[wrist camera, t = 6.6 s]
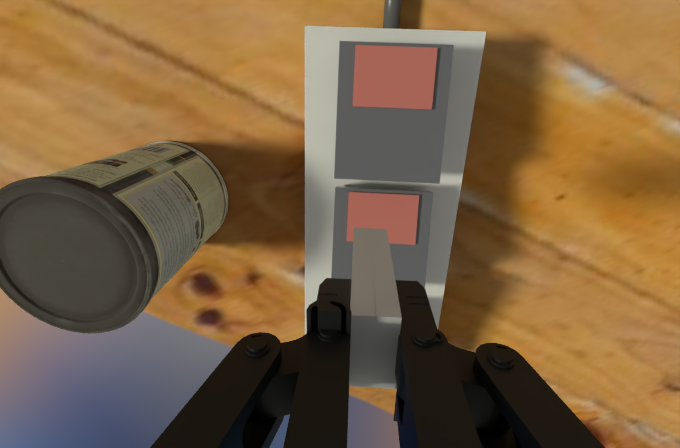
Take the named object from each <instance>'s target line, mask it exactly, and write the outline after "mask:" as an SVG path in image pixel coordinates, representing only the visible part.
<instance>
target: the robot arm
mask: <svg viewBox="0 0 680 448" xmlns="http://www.w3.org/2000/svg"><path fill="white" fill-rule="evenodd" d="M306 315H307V334H305V335H304V336H303V337H301V338H299V339H297V340H293V341H289V342H284V343H280V340H279V339H278V338H277V337H276V336H274V335H272V334H269V333H261V332H260V333H254V334H250V335H248V336H246V337H243V338H242V339H241V340H240V341H239V342H237V344H236V345H235V346H234V347H233V348H232V350H231V351H230V352H229V353H228V355H227V356H226V357H225V358H224V359H223V360H222V362H221V363H220V364H219V365H218V367H217V368H216V369H215V370H214V371H213V373H212V374H211V375H210V376H209V377H208V379H207V380H206V381H205V382H204V384H203V385H202V386H201V387H200V388H199V390H198V391H197V392H196V393H195V394H194V396H193V397H192V398H191V399H190V400H189V402H188V403H187V404H186V405H185V406H184V408H183V409H182V410H181V411H180V412H179V414H178V415H177V416H176V417H175V419H174V420H173V421H172V422H171V423H170V424H169V426H168V427H167V428H166V429H165V431H164V432H163V433H162V434H161V435H160V437H159V438H158V439H157V440H156V442H155V443H154V444H153V445H152V446H151V448H269V447H270V445H271V442H272V441H273V439H274V437H275V434H276V433H277V431H278V429H279V427H280V425H281V423H282V421H283V418H284V415H288V414H290V418H289V423H288V428H287V433H286V437H285V442H284V448H347V428H348V398H349V386H356V387H373V388H391V389H395V380H396V387H397V393H396V403H395V412H394V421H397V422H398V432H399V442H400V448H605V447H604V446H603V445H602V444H601V443H600V442H599V441H598V440H597V439H596V437H595V436H594V435H593V434H592V433H591V432H590V431H589V430H588V429H587V427H586V426H585V425H584V424H583V423H582V422H581V421H580V420H579V419H578V417H577V416H576V415H575V414H574V413H573V412H572V411H571V410H570V409H569V408H568V406H567V405H566V404H565V403H564V402H563V401H562V400H561V399H560V398H559V396H558V395H557V394H556V393H555V392H554V391H553V390H552V389H551V388H550V386H549V385H548V384H547V383H546V382H545V381H544V380H543V379H542V378H541V377H540V375H539V374H538V373H537V372H536V371H535V370H534V369H533V368H532V367H531V365H530V364H529V363H528V362H527V361H526V360H525V359H524V358H523V357H522V356H521V355H520V354H519V353H518V352H517V351H515V350H514V349H512V348H510V347H508V346H505V345H502V344H498V343H486V344H482V345H480V346H479V347H478V348H477V349H476V353H475V352H471V351H467V350H464V349H461V348H458V347H455V346H453V345H451V344H449V343H448V341H447V339H446V337H445V335H444V334H443V333H442V332H440V331H439V330H438V329H437V326H436V323H435V320H434V316H433V313H432V310H431V307H430V303H429V300H428V297H427V293H426V290H425V288H424V287H423V286H422V285H421V284H420V283H419V282H418V281H405V280H395V275H394V269H393V263H392V257H391V251H390V245H389V240H388V234H387V229H375V228H354V236H353V259H352V279H338V278H326V279H325V280H324V281H323V282H322V283H321V284H320V285H319V290H318V295H317V301H314V302H313V303H312V304H310V305H309V306H308V308H307V310H306Z"/></svg>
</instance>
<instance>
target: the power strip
mask: <svg viewBox="0 0 680 448" xmlns="http://www.w3.org/2000/svg"><path fill="white" fill-rule="evenodd" d="M400 10H401V0H385V7H384V21H383V28H357V27H326V26H305V334H307V315H306V310H307V308H308V306H309V305H310V304H312V303H313V302H314V301H317V295H318V290H319V285H320V284H321V283H322V282H323V281H324V280H325V279H326V278H331V273H332V250H333V227H334V204H335V187H336V186H340V187H360V188H381V189H401V190H422V191H431V192H433V200H432V212H431V223H430V235H429V246H428V258H427V269H426V281H425V290H426V293H427V297H428V300H429V303H430V307H431V310H432V313H433V316H434V320H435V323H436V326H437V329H438V326H439V320H440V314H441V308H442V302H443V296H444V289H445V283H446V277H447V271H448V265H449V259H450V252H451V246H452V240H453V234H454V228H455V221H456V215H457V209H458V203H459V197H460V191H461V184H462V178H463V172H464V166H465V160H466V154H467V147H468V141H469V135H470V129H471V123H472V117H473V110H474V104H475V98H476V92H477V86H478V80H479V73H480V67H481V61H482V55H483V49H484V43H485V36H486V32H482V31H450V30H419V29H399V22H400ZM340 41H358V42H388V43H418V44H448V45H454V48H453V58H452V68H451V77H450V87H449V97H448V107H447V116H446V126H445V136H444V146H443V156H442V165H441V175H440V184H436V183H415V182H395V181H374V180H353V179H334V170H335V144H336V119H337V94H338V69H339V44H340Z"/></svg>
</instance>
